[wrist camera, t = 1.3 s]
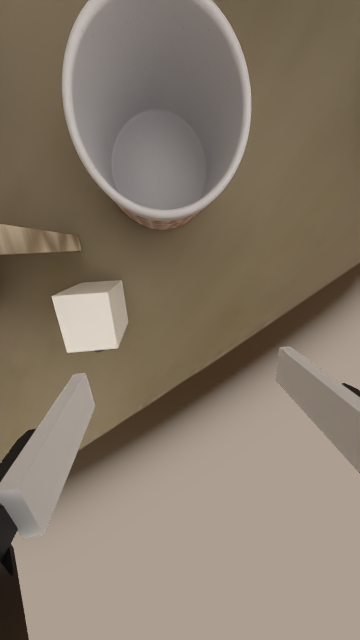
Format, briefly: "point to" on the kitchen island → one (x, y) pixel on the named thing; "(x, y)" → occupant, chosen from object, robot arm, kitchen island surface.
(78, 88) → the planter
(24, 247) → the wooden board
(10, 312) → the kitchen island surface
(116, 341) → the cabinet
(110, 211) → the kitchen island surface
